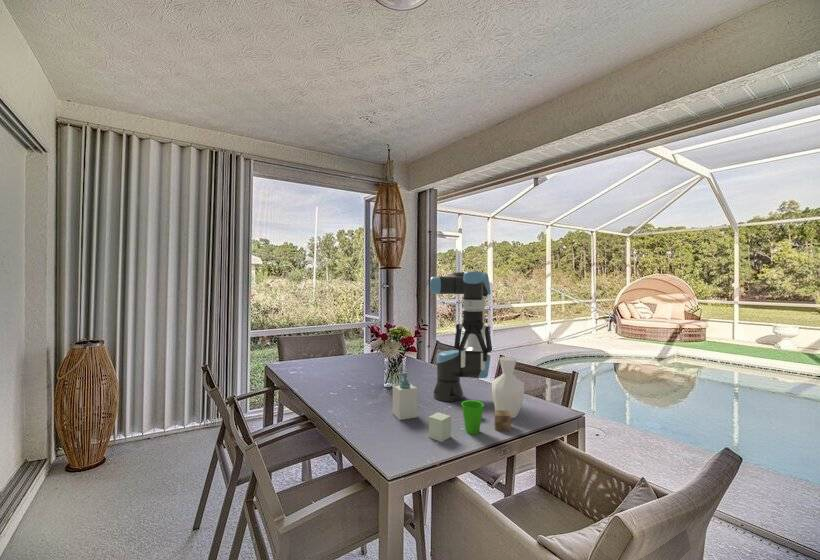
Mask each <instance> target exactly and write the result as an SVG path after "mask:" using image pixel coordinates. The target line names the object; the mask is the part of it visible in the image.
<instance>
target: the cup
mask: <svg viewBox="0 0 820 560" xmlns="http://www.w3.org/2000/svg"><path fill="white" fill-rule="evenodd" d="M460 405H461V406H462V413H463V414H462V415H463V419H464V420H463V421H464V426H465V431H466V433H467V434H469V435H478V434H479V432H480V429H481V423H482V418H483V417H482V416H483V411H484V407H485V403H483V402H482V401H479V400H474V399H473V400H471V399H470V400H469V399H468V400H464V401H462V402H461V403H460Z"/></svg>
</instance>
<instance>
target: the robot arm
mask: <svg viewBox="0 0 820 560" xmlns="http://www.w3.org/2000/svg"><path fill="white" fill-rule="evenodd" d="M490 285H491V284H490V279H489V275H488V273H487V272H482V271H479V270H478V271H477V270H476V271H475V270H474V271H472V270H471V271H464V272H463V271H460V272H458V271H457V272H453V273H449V274H448V273H447V274H446V275H444V276H439V275H436V276H431V277H430V280H429V292H430V294H433V295H436V294H437V295H463V310H464V311H463V312H462V314H463V316H462V317H463V322H462V323H457V324H455V329H456V331H455V338H454V339H455V340H454V345H453V347H454V349H450V350H445V351H441V352H439V353H438V354H437V357H436V358H437V359H436V372H437V373H436V384H435V387H434V389H433V398H434V399H436V400H438V401H440V402H441V401H442V402H458V401H461V400H463V399H464V392H463V388H462V385H461V378H468V379H486V378H488V376H489V372H490V371H489V370H490V365H491V364H490V363H491V355H490V354H488V353H490V352H492V351H493V345H492V338H491V325H485V321H486V320H485V317H486V316H485V315H486V314H485V313H486V311H485V308H486V305H485V304H486V303H485V302H486V300H487V299H488V298H489V297H488V296H489V295H491V286H490ZM462 329H464V333H463V336H462ZM461 337H462V339H461ZM466 344H467V347H466V348H465V346H466Z"/></svg>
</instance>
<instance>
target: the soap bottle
mask: <svg viewBox="0 0 820 560" xmlns="http://www.w3.org/2000/svg"><path fill="white" fill-rule="evenodd" d="M409 374H410V371H405V372H397V373H395V376H402V377H403V379H402V380H401V382H400V383H399V384H398V383H397V384H393V385H392V414H393V415H394V417H396V418H397V419H398V420H399V421H403V420H408V419H414V418H418V416H419V415H418V413H419V412H418V410H419V408H418V407H419V405H418V404H419V403H418V401H419V400H418V398H419V397H418V396H419V395H418V393H419V391H418V390H419V388H418V387H417V386H415V385H414V384H412V383H411V382H409V380H408V379H407V378H408V375H409Z"/></svg>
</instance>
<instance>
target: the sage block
mask: <svg viewBox="0 0 820 560" xmlns="http://www.w3.org/2000/svg"><path fill="white" fill-rule="evenodd" d="M451 430H452V415H448V414H445V413H442V412H435V413H434V414H432V415H429V416H428V438H429V439H432V440H435V441H438V442H440V443H443V442H444V441H446V440H448V439H449V438H451V437H452V431H451Z"/></svg>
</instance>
